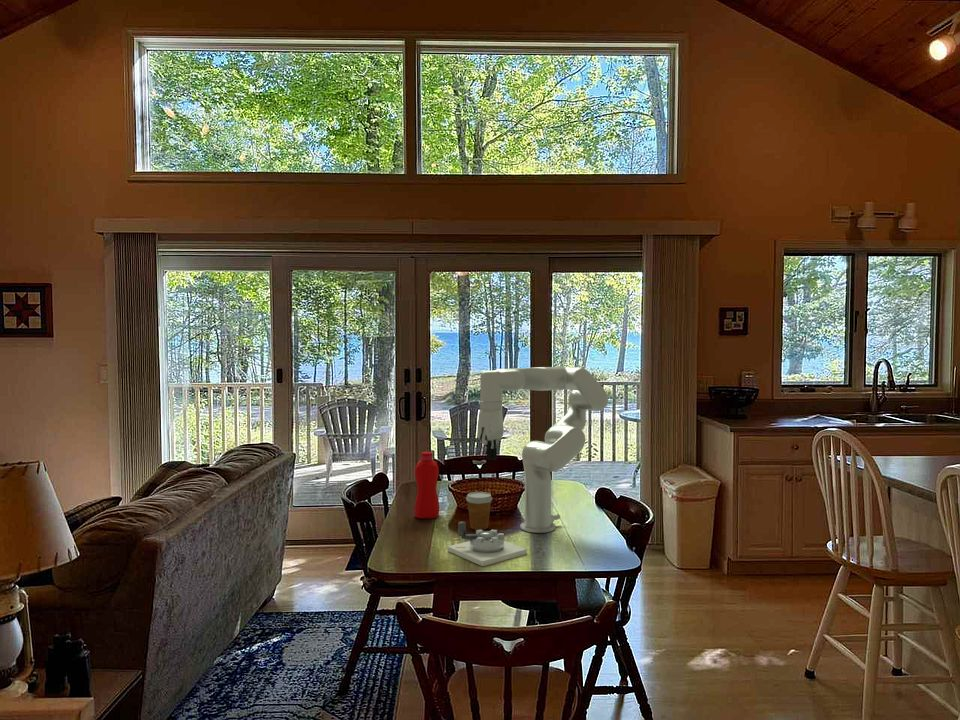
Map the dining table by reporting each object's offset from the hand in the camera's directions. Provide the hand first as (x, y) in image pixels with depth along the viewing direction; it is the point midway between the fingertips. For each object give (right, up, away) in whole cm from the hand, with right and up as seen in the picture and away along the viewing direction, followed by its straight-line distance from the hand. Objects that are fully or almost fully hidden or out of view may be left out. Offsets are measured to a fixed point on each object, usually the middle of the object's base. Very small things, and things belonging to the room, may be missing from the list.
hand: (491, 459), depth 218 cm
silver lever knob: (-4, -26, -15) cm, 30 cm away
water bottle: (-25, -27, +29) cm, 46 cm away
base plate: (-2, -28, -15) cm, 31 cm away
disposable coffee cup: (-4, -27, +13) cm, 30 cm away
